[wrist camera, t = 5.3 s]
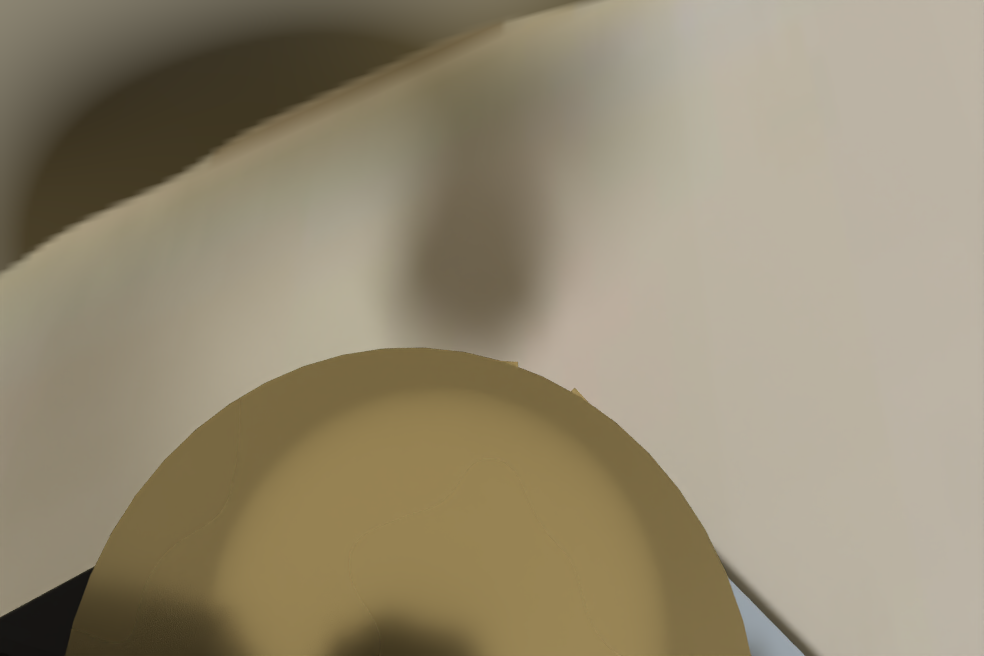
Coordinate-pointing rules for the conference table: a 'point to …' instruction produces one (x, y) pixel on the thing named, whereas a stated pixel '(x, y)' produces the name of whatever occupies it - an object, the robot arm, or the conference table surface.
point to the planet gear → (409, 527)
